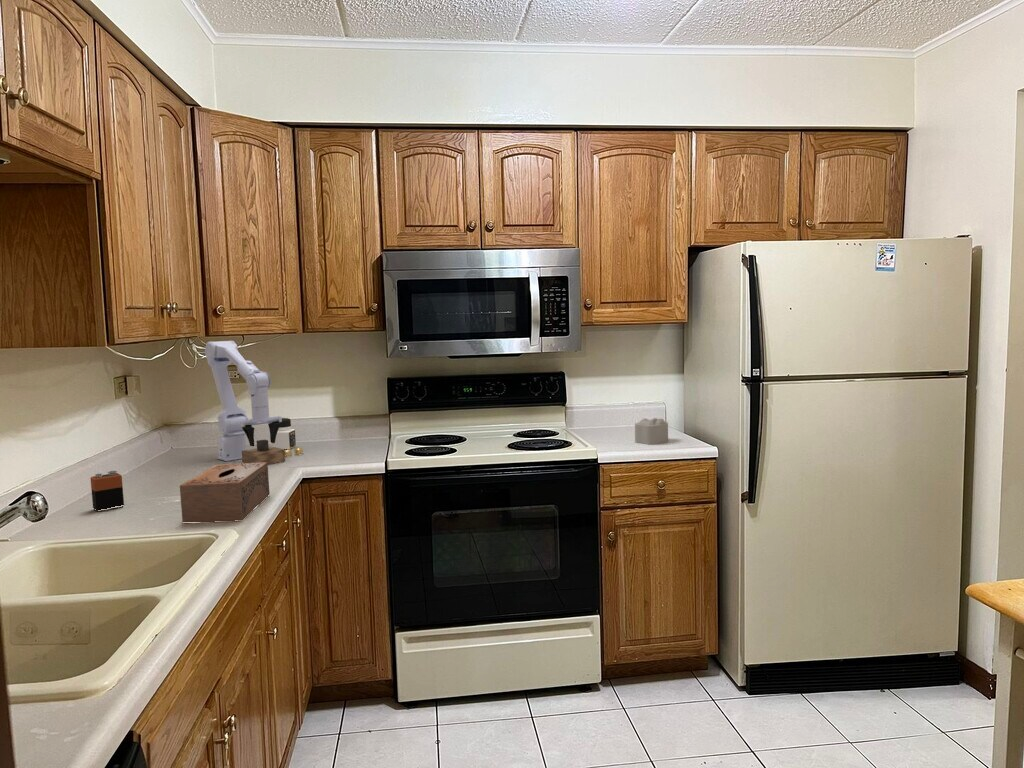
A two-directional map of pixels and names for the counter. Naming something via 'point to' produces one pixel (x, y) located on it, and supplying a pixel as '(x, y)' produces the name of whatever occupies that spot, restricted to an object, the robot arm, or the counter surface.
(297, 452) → the brass puck
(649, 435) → the lumpy-topped squat cylinder
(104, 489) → the battery
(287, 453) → the brass puck
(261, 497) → the tissue box cover
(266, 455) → the cover
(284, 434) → the medicine bottle
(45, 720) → the counter surface
